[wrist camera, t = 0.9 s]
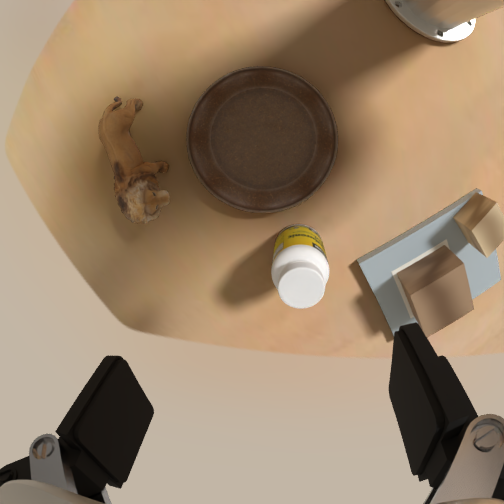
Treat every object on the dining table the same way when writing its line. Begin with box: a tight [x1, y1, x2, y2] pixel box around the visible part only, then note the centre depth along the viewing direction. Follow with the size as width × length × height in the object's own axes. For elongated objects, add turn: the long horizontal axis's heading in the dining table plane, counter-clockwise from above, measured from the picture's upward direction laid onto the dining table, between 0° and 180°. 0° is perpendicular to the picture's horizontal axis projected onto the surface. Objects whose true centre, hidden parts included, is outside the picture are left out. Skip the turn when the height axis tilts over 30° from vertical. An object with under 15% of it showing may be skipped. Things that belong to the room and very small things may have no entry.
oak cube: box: [453, 192, 504, 258], centre depth 26 cm, size 4×4×4 cm
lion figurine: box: [99, 97, 170, 224], centre depth 27 cm, size 15×5×9 cm, turn 29°
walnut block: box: [397, 245, 474, 337], centre depth 30 cm, size 7×7×5 cm
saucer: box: [186, 66, 338, 213], centre depth 29 cm, size 15×15×3 cm
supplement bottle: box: [271, 224, 329, 309], centre depth 29 cm, size 5×5×10 cm
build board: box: [357, 188, 501, 335], centre depth 32 cm, size 18×14×1 cm
